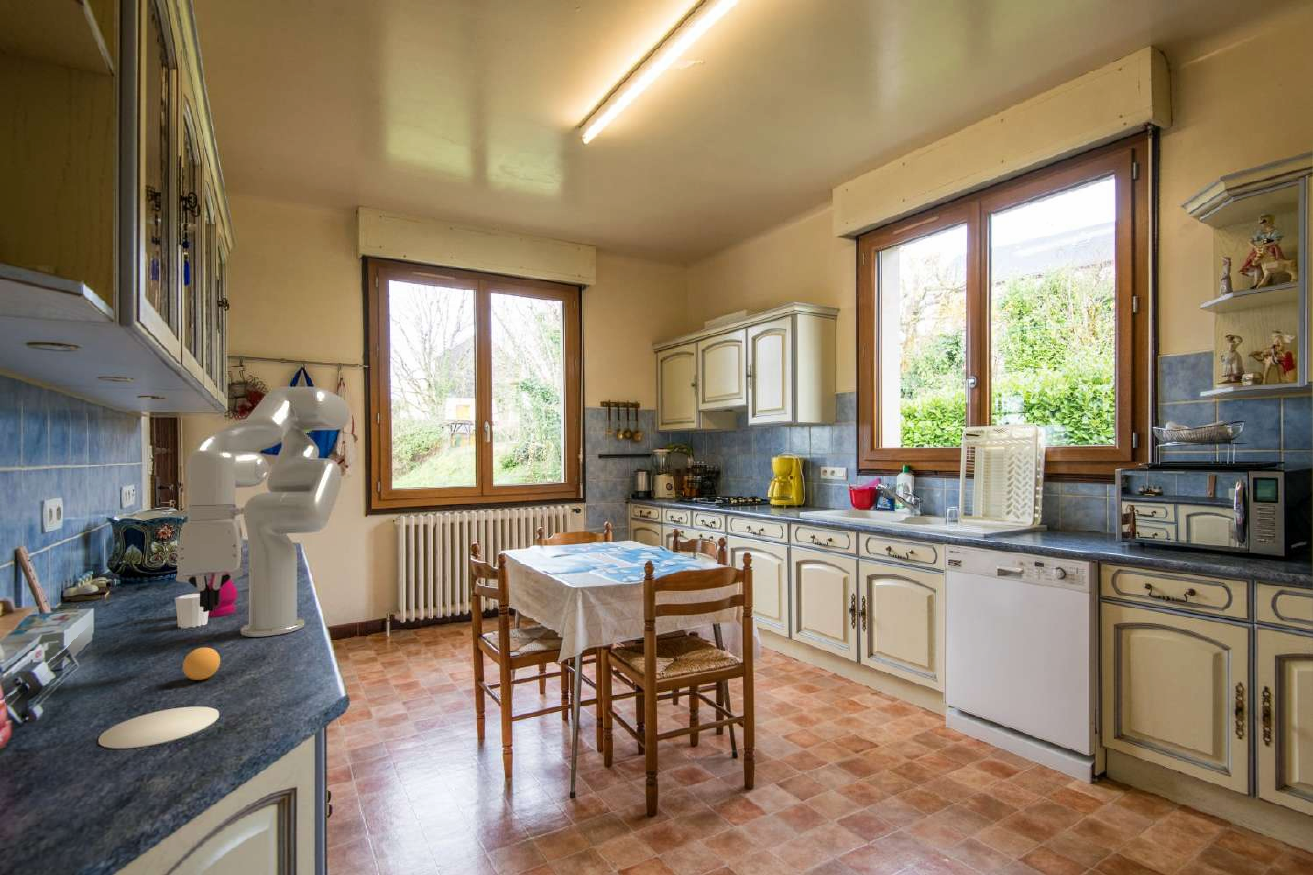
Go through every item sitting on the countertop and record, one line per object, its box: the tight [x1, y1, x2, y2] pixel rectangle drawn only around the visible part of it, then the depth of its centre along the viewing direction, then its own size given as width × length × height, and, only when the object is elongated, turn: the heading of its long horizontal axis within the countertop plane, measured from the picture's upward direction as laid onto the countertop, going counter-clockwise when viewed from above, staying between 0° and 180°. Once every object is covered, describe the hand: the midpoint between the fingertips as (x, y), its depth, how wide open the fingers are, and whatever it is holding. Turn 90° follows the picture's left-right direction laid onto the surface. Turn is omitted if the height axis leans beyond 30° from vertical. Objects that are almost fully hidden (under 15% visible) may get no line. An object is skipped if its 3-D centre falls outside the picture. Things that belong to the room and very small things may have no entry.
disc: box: [98, 706, 220, 750], centre depth 94 cm, size 14×14×1 cm
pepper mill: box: [208, 572, 239, 618], centre depth 163 cm, size 7×7×20 cm
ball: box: [182, 647, 221, 681], centre depth 114 cm, size 6×6×6 cm
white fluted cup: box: [174, 592, 209, 629], centre depth 152 cm, size 7×7×7 cm
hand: (209, 610), depth 122 cm, fingers closed
